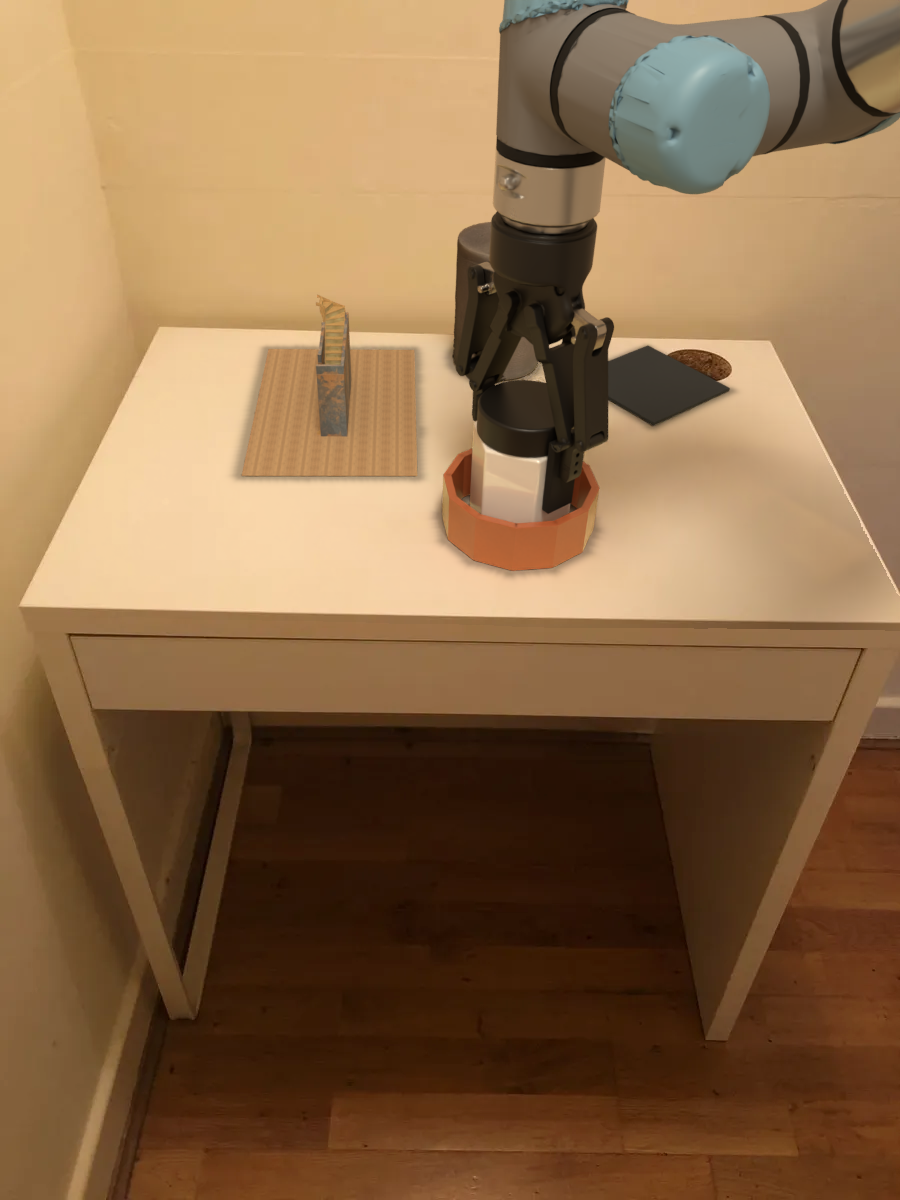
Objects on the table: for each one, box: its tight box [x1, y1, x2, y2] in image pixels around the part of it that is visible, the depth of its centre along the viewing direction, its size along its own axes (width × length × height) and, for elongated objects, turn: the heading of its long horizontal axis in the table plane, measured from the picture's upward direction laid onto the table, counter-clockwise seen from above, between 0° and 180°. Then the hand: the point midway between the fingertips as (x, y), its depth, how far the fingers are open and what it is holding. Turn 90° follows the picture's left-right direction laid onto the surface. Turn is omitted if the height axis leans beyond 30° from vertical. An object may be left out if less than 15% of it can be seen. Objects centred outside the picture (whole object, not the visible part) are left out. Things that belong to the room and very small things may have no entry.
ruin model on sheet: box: [241, 294, 418, 477], centre depth 98 cm, size 25×16×10 cm, turn 2°
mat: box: [608, 345, 731, 426], centre depth 106 cm, size 12×12×1 cm
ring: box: [441, 447, 601, 572], centre depth 86 cm, size 13×13×4 cm
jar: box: [469, 379, 574, 523], centre depth 83 cm, size 9×8×12 cm
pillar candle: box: [451, 221, 539, 381], centre depth 104 cm, size 10×10×15 cm
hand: (521, 480), depth 84 cm, fingers open, 8 cm apart
